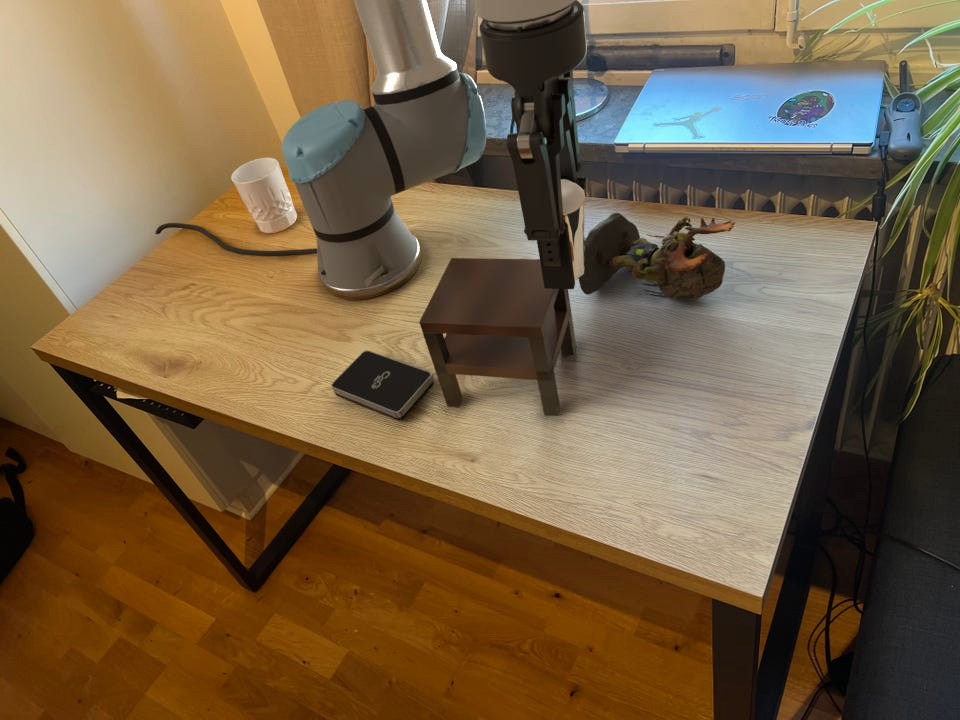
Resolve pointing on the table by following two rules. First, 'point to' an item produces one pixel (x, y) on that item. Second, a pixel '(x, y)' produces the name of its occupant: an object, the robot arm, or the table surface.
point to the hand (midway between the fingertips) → (564, 269)
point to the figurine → (654, 258)
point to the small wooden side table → (497, 325)
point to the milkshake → (574, 223)
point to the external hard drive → (383, 384)
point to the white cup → (265, 194)
